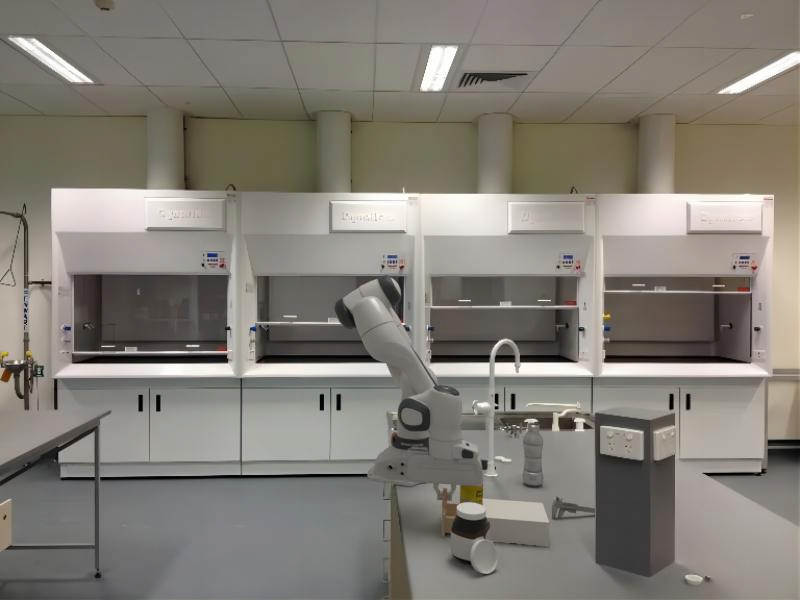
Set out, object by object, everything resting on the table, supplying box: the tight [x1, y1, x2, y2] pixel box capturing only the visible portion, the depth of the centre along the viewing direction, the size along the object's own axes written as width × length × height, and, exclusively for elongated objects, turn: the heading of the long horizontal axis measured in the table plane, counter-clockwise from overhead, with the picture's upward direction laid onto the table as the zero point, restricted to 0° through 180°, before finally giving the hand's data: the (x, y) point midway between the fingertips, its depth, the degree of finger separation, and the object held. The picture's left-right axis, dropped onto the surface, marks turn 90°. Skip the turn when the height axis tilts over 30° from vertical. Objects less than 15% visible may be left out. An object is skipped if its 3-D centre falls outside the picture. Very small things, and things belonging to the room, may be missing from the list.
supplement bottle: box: [459, 483, 484, 505], centre depth 144 cm, size 7×7×13 cm
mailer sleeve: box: [482, 498, 550, 548], centre depth 129 cm, size 16×12×6 cm
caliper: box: [551, 496, 596, 520], centre depth 140 cm, size 20×1×6 cm, turn 100°
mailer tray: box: [440, 487, 483, 538], centre depth 131 cm, size 16×12×9 cm
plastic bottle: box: [522, 422, 544, 487], centre depth 163 cm, size 6×7×20 cm
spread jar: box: [450, 502, 499, 575], centre depth 114 cm, size 12×11×12 cm
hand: (444, 499), depth 132 cm, fingers closed on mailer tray
